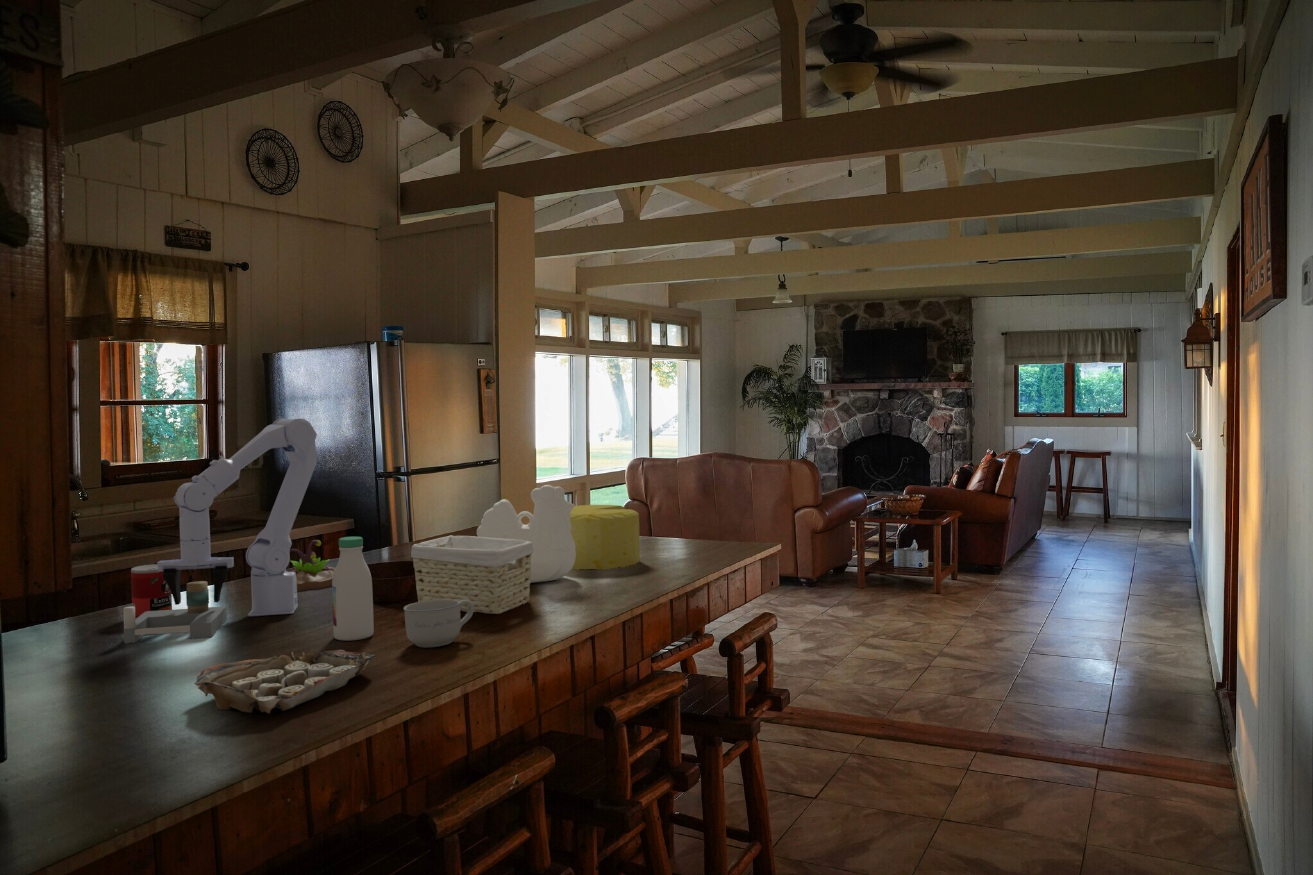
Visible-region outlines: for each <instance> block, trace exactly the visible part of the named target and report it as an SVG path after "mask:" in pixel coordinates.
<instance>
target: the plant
mask: <svg viewBox="0 0 1313 875" xmlns="http://www.w3.org/2000/svg"><path fill="white" fill-rule="evenodd" d="M313 544H314V545H315V546H317V547H321V545H322V542H321V540H319V539H313V540H311V542H310V543H308V546H307V548H306V549H307V550H306V554H304V553H303V552H302V551H300V550H299V549H297V548H292V549H290V552H289V553H290V554H291V552H295V553H297V554H298V555H299V557H300V558H299V561H296V560H291V559H290V563H292V566H293V567H292V569H287V568H286V572H295V573H296V580H297V592H302V591H305V590H306V591H308V590H321V589H326V588H329V587H330V588H332V580H333V574H334V571H335V568H336V567H333V566H326V564H327V563H328V562H329V561H330V560H331V559H330V558H329V559H325V560H324V559H323V560H321V557H317V554H316V553H315V552H314V551H312V546H313Z"/></svg>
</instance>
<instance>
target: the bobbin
mask: <svg viewBox="0 0 1313 875" xmlns="http://www.w3.org/2000/svg"><path fill="white" fill-rule="evenodd" d="M185 597H186V598H185V599H186V606H187V609H188V613H201V612H206V611H208V610H209V609H208V607H209V604H210V593H209V586H208V581H206V580H205V581H204V580H200V581H199V580H198V581H191V582H187V583H186V590H185Z"/></svg>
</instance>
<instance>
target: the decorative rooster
mask: <svg viewBox="0 0 1313 875" xmlns="http://www.w3.org/2000/svg"><path fill="white" fill-rule="evenodd" d="M530 499H531V500H532V502H533V503H534V504H533V505H534V507H533V513H531V512H530V511H527V510H525V511H524V510H523V511H520V512H519V513H517V511H516V509H515V507H514V506H513V503H511V502H510V500H509V499H505V498H504V499H500V500H499V501H498V502H495V503H494V504H493V505H492V507H491V508H488V509H487V510H485V512H484V513H483V516H482V519H481V520H480V525H479V526H478V527H477V529H476V535H477V537H487V538H502V539H515V540H523V541H531V542H532V546H533V548H534V552H533V553H532V555H531V568H530V569H531V576H530V584H531V583H541V582H542V583H543V582H550V581H554V580H555V581H557V580H559V579H562V578H564V577H565V576H566V575H568V574H569V573H570V572H571V570H572V567H573V565H574V563H575V558H576V552H575V547H576V546H575V543H574V540H573V537H572V534H571V532H570V530H571V522H570V518H571V515H570V512H571V510H572V509H573V507H574V506H575V504H574V503H572V502H570V501H567V500H566V492H565V489H564V488H563V487H561V486H554V485H551V484H545V485H542V486H540V487H535V488H534V489H532V490H531V491H530ZM524 517H527V518H528V519H529V522H528V523H527V524H524V523H523V522H522V518H524Z"/></svg>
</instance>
